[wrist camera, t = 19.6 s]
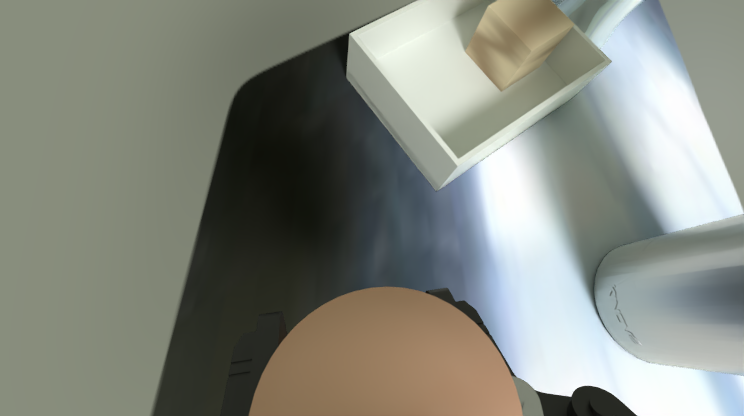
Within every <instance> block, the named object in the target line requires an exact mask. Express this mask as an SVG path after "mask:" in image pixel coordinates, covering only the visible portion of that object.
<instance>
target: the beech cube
mask: <svg viewBox="0 0 744 416" xmlns="http://www.w3.org/2000/svg"><path fill="white" fill-rule="evenodd" d="M574 25H575V24H574V23H573V22H572V21H571V20H570V19H569V18H568V17H567V16H566V15H565V14H564V13H563V12H562V11H561V10H560V9H559V8H558V7H557V6H556V5H555V4H554V3H553V2H552V1H551V0H497V1H496V2H494V3H492V4H490V5H488V7H487V9H486V11H485V13H484V15H483V17H482V19H481V21H480V23H479V25H478V27H477V29H476V31H475V33H474V35H473V37H472V39H471V41H470V43H469V45H468V46H467V48H466V50H465V53H466V54H467V55H468V56H469V57H470V58H471V59H472V60H473V61H474V62H475V64H476V65H477V66H478V67H479V68H480V69H481V70H482V71H483V72H484V74H485V75H486V76H487V77H488V78H489V79H490V80H491V81H492V82H493V84H494V85H495V86H496V87H497V88H498V89H499V90H500V91H501V92H502V91H503V90H505V89H506V88H508V87H509V86H511V85H513V84H514V83H516V82H517V81H519V80H520V79H522V78H523V77H525V76H526V75H528V74H530V73H531V72H533V71H534V70H536V69H537V68H539V67H540V66H541V64H542V63H543V62H544V61H545V60H546V58H547V57H548V56H549V55H550V54H551V52H552V51H553V50H554V49H555V48H556V46H557V45H558V44H559V43H560V42H561V40H562V39H563V38H564V37H565V35H566V34H567V33H568V32H569V31H570V29H571V28H572V27H573V26H574Z"/></svg>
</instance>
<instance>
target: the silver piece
mask: <svg viewBox="0 0 744 416" xmlns="http://www.w3.org/2000/svg"><path fill="white" fill-rule="evenodd" d="M644 1H646V0H563V1H562V2H561V3H560V4H559V5H558V7H559V8H560V9H561V10H562V11H563V12H564V13H565V14H566V15H567V16H568V18H569V19H570V20H571V21H572V22H573V23H574V24H575V25H576V26H577V27H578V28H579V29H580V30H581V31H582V32H583V33H584V34H585V35H586V36H587V37H588V38H589V39H590V40H591V41H592V42H593V43H594V44H595V45H596V46H597V47H598V48H599V49H601V48H602V47H603V46H604V45H605V43H606V42H607V41H608V39H609V38H610V36H611V35H612V34H613V32H614V31H615V29H616V28H617V27H618V25H619V24H620V23H621V22H622V21H623V20H624V18H625V17H627V16H628V15H629V14H630V13H631V12H632V11H633V10H634V9H635V8H637V7H638V6H639V5H640V4H642V3H643V2H644Z"/></svg>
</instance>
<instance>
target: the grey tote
mask: <svg viewBox="0 0 744 416" xmlns="http://www.w3.org/2000/svg"><path fill="white" fill-rule="evenodd" d="M496 1H497V0H417V1H415V2H413V3H411V4H409V5H407V6H405V7H403V8H401V9H399V10H397V11H395V12H393V13H391V14H388V15H386V16H384V17H382V18H380V19H378V20H376V21H374V22H372V23H370V24H368V25H366V26H364V27H362V28H360V29H358V30H356V31H354V32H352V33H350V34H349V46H348V60H347V73H346V78H347V79H348V80H349V82H350V83H351V84H352V85H353V87H354V88H355V89H356V90H357V92H358V93H359V94H360V95H361V97H362V98H363V99H364V101H365V102H366V103H367V104H368V106H369V107H370V108H371V109H372V111H373V112H374V113H375V114H376V116H377V117H378V118H379V120H380V121H381V122H382V123H383V125H384V126H385V127H386V128H387V130H388V131H389V132H390V133H391V135H392V136H393V137H394V139H395V140H396V141H397V142H398V144H399V145H400V146H401V147H402V149H403V150H404V151H405V152H406V154H407V155H408V156H409V158H410V159H411V160H412V161H413V163H414V164H415V165H416V166H417V168H418V169H419V170H420V172H421V173H422V174H423V175H424V177H425V178H426V179H427V180H428V182H429V183H430V184H431V185H432V187H433V188H434V189H435V191H436V192H437V191H438V190H440V189H441V188H443V187H444V186H446V185H447V184H449V183H450V182H451V181H453V180H454V179H456V178H457V177H459V176H460V175H462V174H463V173H465V172H466V171H467V170H469V169H470V168H472V167H473V166H475V165H476V164H478V163H479V162H480V161H482V160H483V159H485V158H486V157H488V156H489V155H491V154H492V153H494V152H495V151H496V150H498V149H499V148H501V147H502V146H504V145H505V144H507V143H508V142H509V141H511V140H512V139H514V138H515V137H517V136H518V135H520V134H521V133H523V132H524V131H525V130H527V129H528V128H530V127H531V126H533V125H534V124H536V123H537V122H538V121H540V120H541V119H543V118H544V117H546V116H547V115H549V114H550V113H551V112H553V111H554V110H556V109H557V108H559V107H560V106H562V105H563V104H565V103H566V102H567V101H569V100H570V99H572V98H573V97H574V96H575V95H576V94H577V93H578V92H579V91H581V90H582V89H583V88H584V87H585V86H586V85H587V84H588V83H589V82H590V81H591V80H593V79H594V78H595V77H596V76H597V75H598V74H599V73H600V72H601V71H602V70H603V69H605V68H606V67H607V66H608V65H609V64H610V63H611V62H612V61H611V60H610V59H609V58H608V57H607V56H606V55H605V54H604V53H603V52H602V51H601V50H600V49H599V48H598V47H597V46H596V45H595V44H594V43H593V42H592V41H591V40H590V39H589V38H588V37H587V36H586V35H585V34H584V33H583V32H582V31H581V30H580V29H579V28H578V27H577V26H576V25H574V26H573V27H572V28H571V29H570V31H569V32H568V33H567V34H566V35H565V37H564V38H563V39H562V40H561V42H560V43H559V44H558V45H557V46H556V48H555V49H554V50H553V51H552V52H551V54H550V55H549V56H548V57H547V58H546V60H545V61H544V62H543V63H542V64H541V66H540V67H539V68H537V69H536V70H534V71H533V72H531V73H530V74H528V75H526V76H525V77H523V78H522V79H520V80H519V81H517V82H516V83H514V84H513V85H511V86H509V87H508V88H506V89H505V90H503V91H502V92H501V91H500V90H499V89H498V88H497V87H496V86H495V85H494V84H493V82H492V81H491V80H490V79H489V78H488V77H487V76H486V75H485V74H484V72H483V71H482V70H481V69H480V68H479V67H478V66H477V65H476V64H475V62H474V61H473V60H472V59H471V58H470V57H469V56H468V55H467V54H466V53H465V50H466V48H467V46H468V45H469V43H470V41H471V39H472V37H473V35H474V33H475V31H476V29H477V27H478V25H479V23H480V21H481V19H482V17H483V15H484V13H485V11H486V9H487V7H488V5H490V4H492V3H494V2H496ZM551 1H552V0H551ZM552 2H553V1H552ZM553 3H554V2H553ZM554 4H555V3H554ZM555 5H556V4H555ZM556 6H557V5H556ZM557 7H558V6H557ZM558 8H559V7H558ZM559 9H560V8H559ZM560 10H561V9H560ZM561 11H562V10H561ZM562 12H563V11H562ZM563 13H564V12H563ZM564 14H565V13H564ZM565 15H566V14H565ZM566 16H567V15H566ZM567 17H568V16H567Z"/></svg>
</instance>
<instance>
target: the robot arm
mask: <svg viewBox="0 0 744 416" xmlns="http://www.w3.org/2000/svg"><path fill="white" fill-rule="evenodd" d="M426 293H427V294H430V295H432V296H435V297H437V298H439V299H441V300H443V301H445V302H447V303H449V304H451V305H452V306H454V307H455V308H457V309H458V310H460V311H461V312H463V313H464V314H465V315H467V316H468V317H469V318H470V319H471V320H472V321H473V322H475V323H476V324H477V325H478V326H479V327H480V328H481V329H482V331H483V332H484V333H485V334H486V335H487V336H488V337H489V338H490V340H491V341H492V343H493V344H494V346H495V347H496V348H497V350H498V351H499V353H500V354H501V356H502V358H503V360H504V362H505V364H506V365H507V367H508V369H509V371H510V374H511V376H512V379H513V381H514V384H515V386H516V389H517V393H518V396H519V400H520V403H521V408H522V414H523V416H637V415H636V414H634V413H633V412H632V411H631V410H630V409H629V408H628V407H627V406H626V405H624V404H623V403H622V402H621V401H620V400H619V399H618V398H616V397H615V396H614V395H612V394H611V393H609V392H607V391H605V390H603V389H601V388H598V387H593V386H582V387H579V388H577V389H576V390H575V391H574V392H573V394H572V397H568V396H561V395H553V394H546V393H542V392H538V391H536V390H534V389H533V388H532V387H531V386H530V385H529V384H528V383H527V382H525V381H524V380H522V379H520V378H517V377H516V376H515V375H514V373H513V372H512V370H511V368H510V367H509V365H508V363H507V361H506V360H505V358H504V356H503V355H502V353H501V351H500V350H499V348H498V346H497V345H496V343H495V341H494V340H493V338H492V336H491V335H490V334H489V331H488V329H487V328H486V326H485V325H484V324H483V321H482V319H481V318H480V316H479V314H478V313H477V311H476V310H475V309H474V308H473V307H472V306H470V305H469V304H468V303H467V302H465V301H458V302H455V300H454V298H453V296H452V295H451V293H450V291H449V289H448V288H442V289H435V290H428V291H426ZM594 293H595V300H596V305H597V309H598V312H599V315H600V317H601V319H602V321H603V323H604V325H605V327H606V329H607V330H608V332H609V333H610V334H611V336H612V337H613V338H614V340H615V341H616V342H617V343H618V344H619V345H620V346H622V347H623V348H624V349H625V350H626V351H627V352H629V353H630V354H632V355H634V356H635V357H637V358H639V359H641V360H644V361H646V362H649V363H654V364H660V365H667V366H675V367H682V368H690V369H697V370H705V371H710V372H718V373H726V374H733V375H741V376H744V214H742V215H738V216H734V217H730V218H726V219H722V220H719V221H715V222H711V223H707V224H703V225H699V226H695V227H692V228H688V229H684V230H680V231H676V232H672V233H668V234H664V235H660V236H656V237H652V238H649V239H645V240H641V241H637V242H634V243H630V244H626V245H623V246H619V247H617V248H616V249H614V250H612V251H610V252H609V253H608V254H607V255H606V256H605V257H604V258H603V260H602V262H601V264H600V265H599V267H598V270H597V273H596V277H595V286H594ZM286 336H287V331H286V327H285V322H284V317H283V313H282V311H281V312H274V313H267V314H260V315H259V317H258V322H257V329H256V332H250V333H243V335H242V336H241V338H240V339H239V341H238V342H237V344H236V345H235V347H234V351H233V355H232V360H231V365H230V370H229V378H228V380H227V385H226V390H225V395H224V400H223V404H222V409H221V414H220V416H249V412H250V409H251V405H252V401H253V397H254V394H255V391H256V388H257V386H258V383H259V381H260V378H261V376H262V373H263V372H264V370H265V368H266V366H267V364H268V362H269V360H270V358H271V357H272V355H273V354H274V352H275V351H276V349H277V348H278V347H279V345H280V344H281V342H282V341H283V340H284V338H285V337H286Z"/></svg>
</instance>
